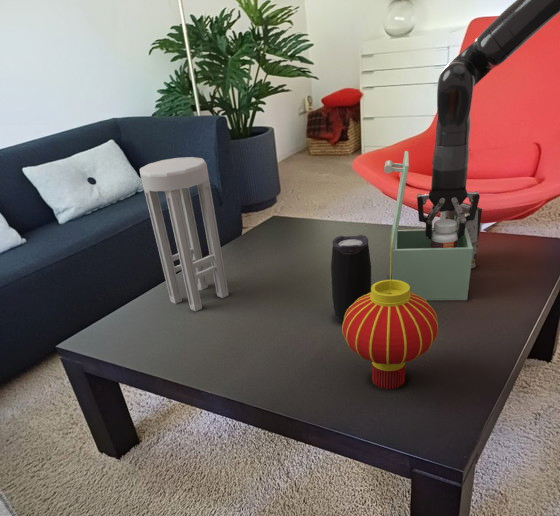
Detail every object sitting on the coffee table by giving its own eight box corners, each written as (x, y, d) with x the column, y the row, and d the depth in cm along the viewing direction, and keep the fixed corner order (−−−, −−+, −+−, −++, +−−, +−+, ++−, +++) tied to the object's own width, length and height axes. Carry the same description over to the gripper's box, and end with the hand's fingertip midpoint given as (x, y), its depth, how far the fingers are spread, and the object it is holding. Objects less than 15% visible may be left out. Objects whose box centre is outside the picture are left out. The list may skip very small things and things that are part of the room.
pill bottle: (443, 274, 126) (447, 228, 120) (423, 268, 130) (426, 223, 124) (460, 266, 129) (464, 221, 122) (440, 260, 133) (443, 216, 127)
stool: (160, 302, 143) (126, 169, 123) (204, 282, 151) (179, 154, 132) (194, 318, 133) (163, 175, 114) (239, 295, 141) (218, 159, 122)
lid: (408, 151, 122) (386, 149, 123) (408, 165, 111) (385, 163, 112) (395, 228, 133) (375, 226, 134) (394, 248, 122) (373, 246, 123)
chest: (461, 277, 137) (467, 227, 130) (467, 301, 126) (473, 248, 119) (392, 278, 141) (393, 230, 133) (391, 301, 130) (392, 250, 122)
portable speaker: (358, 332, 119) (357, 250, 108) (325, 322, 125) (321, 243, 114) (378, 316, 124) (379, 236, 113) (346, 307, 130) (343, 230, 119)
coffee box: (476, 268, 141) (483, 208, 132) (456, 273, 139) (462, 213, 130) (455, 257, 148) (460, 200, 139) (435, 262, 147) (440, 205, 138)
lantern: (394, 348, 112) (399, 208, 95) (453, 387, 99) (469, 232, 82) (327, 375, 106) (319, 231, 89) (380, 420, 93) (382, 261, 76)
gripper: (417, 170, 114) (413, 244, 124) (486, 167, 111) (478, 242, 121) (416, 162, 120) (413, 233, 130) (482, 158, 117) (474, 231, 127)
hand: (444, 237), depth 125 cm, fingers closed on pill bottle, 6 cm apart
